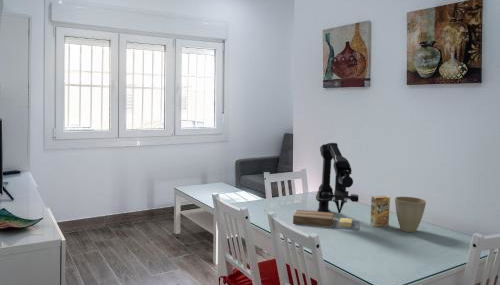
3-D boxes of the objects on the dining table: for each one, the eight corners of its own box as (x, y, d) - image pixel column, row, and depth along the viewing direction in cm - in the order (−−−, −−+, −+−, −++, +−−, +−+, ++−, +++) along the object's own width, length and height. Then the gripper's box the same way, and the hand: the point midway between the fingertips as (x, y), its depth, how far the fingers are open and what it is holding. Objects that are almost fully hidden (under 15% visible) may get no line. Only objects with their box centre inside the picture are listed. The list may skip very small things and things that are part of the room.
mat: (334, 219, 233) (334, 218, 233) (358, 221, 230) (358, 221, 230) (332, 227, 218) (332, 226, 218) (358, 230, 215) (358, 229, 215)
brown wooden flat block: (296, 216, 238) (297, 209, 237) (333, 220, 233) (333, 212, 232) (293, 223, 224) (293, 215, 224) (331, 227, 219) (331, 219, 219)
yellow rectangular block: (352, 218, 227) (351, 222, 227) (340, 217, 229) (340, 221, 229) (351, 223, 218) (351, 227, 219) (339, 222, 220) (339, 225, 220)
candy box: (374, 226, 221) (375, 197, 220) (369, 224, 225) (371, 196, 224) (388, 225, 224) (390, 197, 223) (384, 223, 228) (385, 195, 227)
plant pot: (424, 236, 207) (426, 204, 206) (392, 232, 213) (394, 201, 211) (423, 228, 221) (425, 198, 220) (393, 224, 226) (395, 195, 225)
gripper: (321, 185, 218) (320, 215, 219) (359, 187, 213) (357, 218, 214) (323, 181, 228) (321, 210, 230) (359, 184, 224) (357, 213, 225)
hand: (339, 212), depth 224 cm, fingers closed
